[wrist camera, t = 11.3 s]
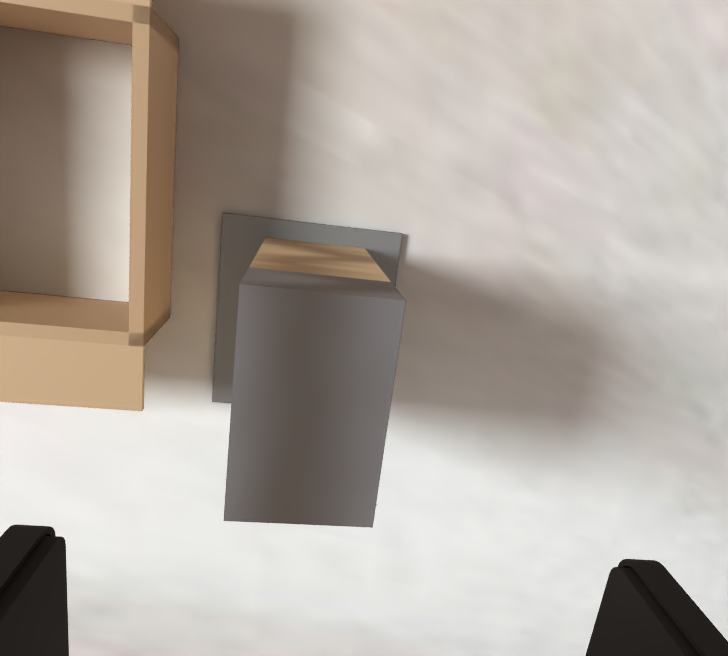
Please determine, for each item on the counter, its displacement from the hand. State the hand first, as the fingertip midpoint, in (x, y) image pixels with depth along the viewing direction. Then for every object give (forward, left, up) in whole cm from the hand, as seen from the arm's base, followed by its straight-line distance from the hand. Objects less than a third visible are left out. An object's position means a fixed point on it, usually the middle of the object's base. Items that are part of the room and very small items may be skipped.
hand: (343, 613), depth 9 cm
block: (0, 0, -21) cm, 21 cm away
